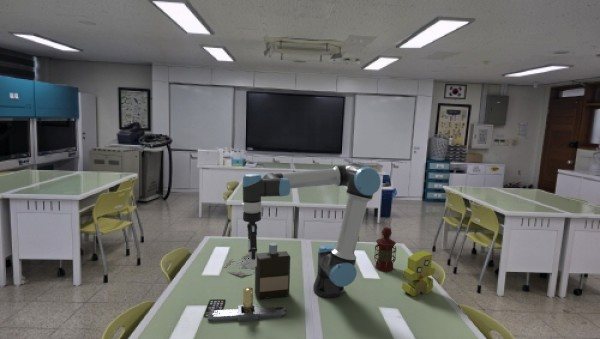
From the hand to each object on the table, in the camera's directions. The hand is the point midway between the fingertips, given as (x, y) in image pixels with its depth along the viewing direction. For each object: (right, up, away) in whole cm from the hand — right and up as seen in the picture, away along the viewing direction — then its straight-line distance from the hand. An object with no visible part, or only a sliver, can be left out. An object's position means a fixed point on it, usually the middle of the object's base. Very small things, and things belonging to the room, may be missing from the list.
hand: (252, 260), depth 155 cm
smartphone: (-17, -23, +6) cm, 29 cm away
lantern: (+69, -19, +56) cm, 90 cm away
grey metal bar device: (-2, -24, 0) cm, 24 cm away
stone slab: (-9, -17, +56) cm, 59 cm away
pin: (-2, -24, 0) cm, 24 cm away
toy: (+79, -23, +27) cm, 86 cm away
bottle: (+7, -22, +20) cm, 30 cm away
